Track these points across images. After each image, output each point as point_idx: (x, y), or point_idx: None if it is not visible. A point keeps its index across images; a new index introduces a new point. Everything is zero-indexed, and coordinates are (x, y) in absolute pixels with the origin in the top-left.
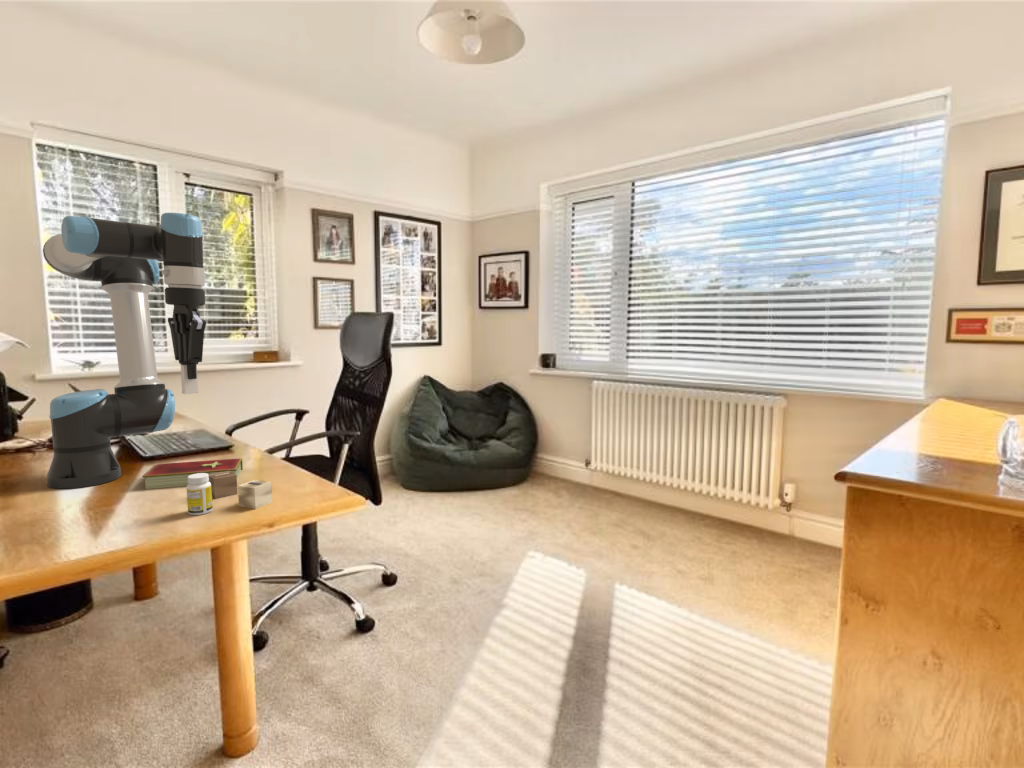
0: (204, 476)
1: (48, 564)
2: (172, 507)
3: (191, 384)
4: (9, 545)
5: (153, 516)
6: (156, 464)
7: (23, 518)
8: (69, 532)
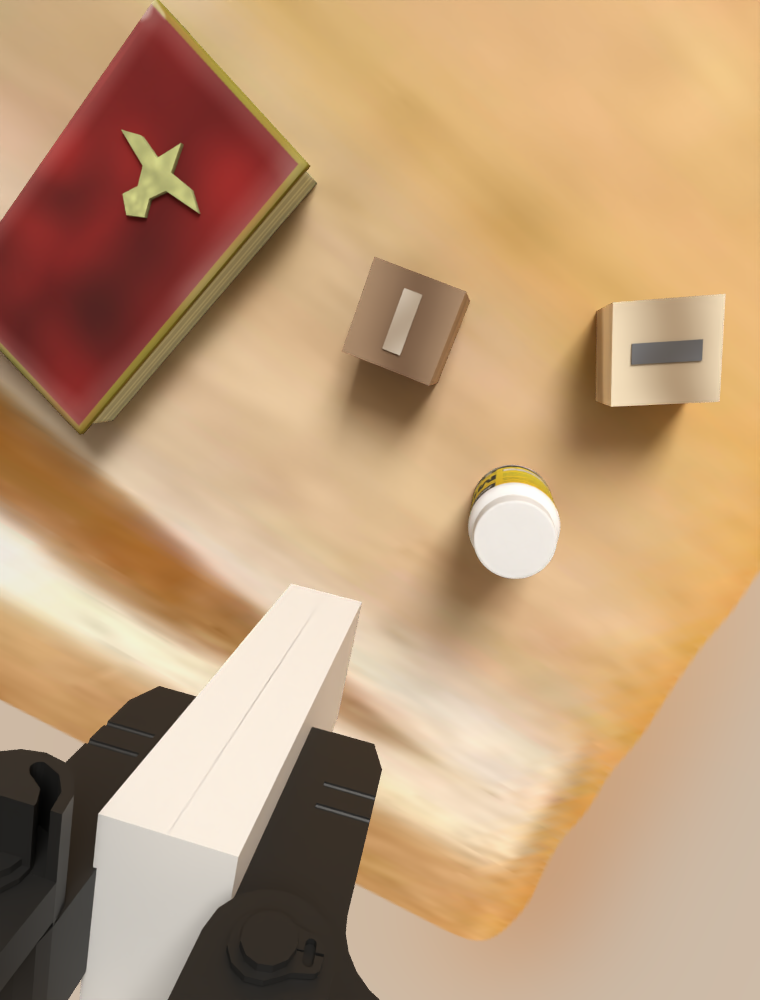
0: (554, 540)
1: (489, 888)
2: (380, 511)
3: (324, 713)
4: None
5: (405, 591)
6: None
7: None
8: None
